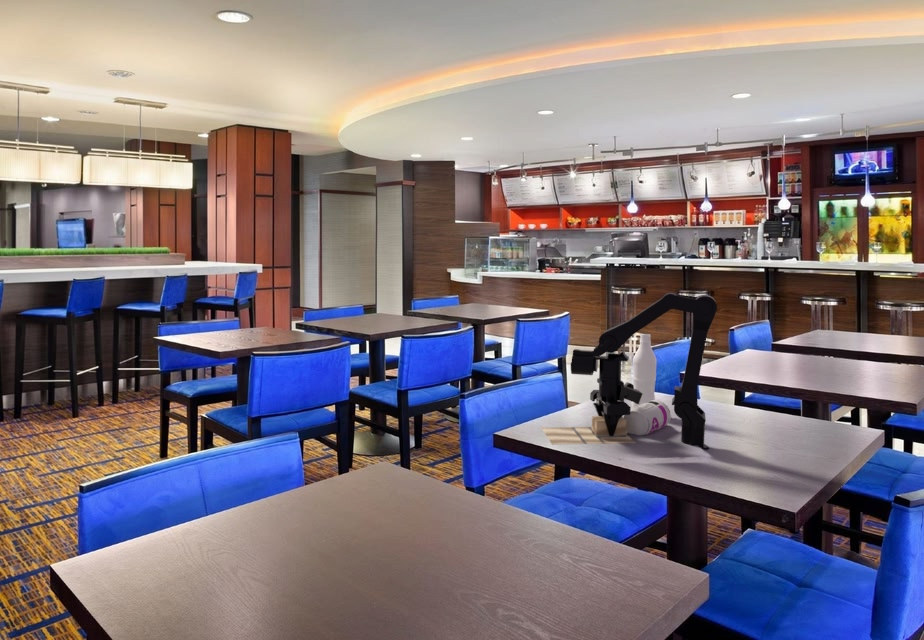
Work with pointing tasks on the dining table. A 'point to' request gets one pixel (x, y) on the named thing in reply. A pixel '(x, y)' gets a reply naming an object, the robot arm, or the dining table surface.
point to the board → (580, 436)
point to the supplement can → (647, 417)
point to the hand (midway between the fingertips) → (608, 433)
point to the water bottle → (644, 370)
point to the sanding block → (601, 429)
